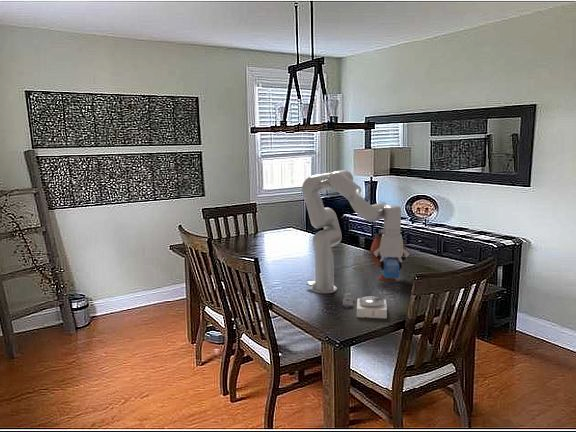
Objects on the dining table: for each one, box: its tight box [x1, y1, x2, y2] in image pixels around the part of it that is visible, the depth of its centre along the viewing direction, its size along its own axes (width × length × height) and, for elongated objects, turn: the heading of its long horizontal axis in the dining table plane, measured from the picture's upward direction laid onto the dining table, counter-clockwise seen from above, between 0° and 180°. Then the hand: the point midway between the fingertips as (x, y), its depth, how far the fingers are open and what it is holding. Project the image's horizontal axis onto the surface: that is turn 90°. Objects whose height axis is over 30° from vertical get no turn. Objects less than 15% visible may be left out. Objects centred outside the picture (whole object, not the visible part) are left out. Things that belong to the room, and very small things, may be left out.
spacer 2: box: [342, 298, 354, 308], centre depth 221 cm, size 5×5×3 cm
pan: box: [359, 295, 384, 307], centre depth 212 cm, size 11×11×1 cm
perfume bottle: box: [382, 257, 400, 279], centre depth 219 cm, size 6×6×12 cm
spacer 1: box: [342, 292, 355, 302], centre depth 228 cm, size 5×5×3 cm
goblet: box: [369, 232, 407, 282], centre depth 258 cm, size 19×19×25 cm
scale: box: [356, 297, 388, 319], centre depth 212 cm, size 13×14×4 cm
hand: (390, 269), depth 219 cm, fingers closed on perfume bottle, 7 cm apart
